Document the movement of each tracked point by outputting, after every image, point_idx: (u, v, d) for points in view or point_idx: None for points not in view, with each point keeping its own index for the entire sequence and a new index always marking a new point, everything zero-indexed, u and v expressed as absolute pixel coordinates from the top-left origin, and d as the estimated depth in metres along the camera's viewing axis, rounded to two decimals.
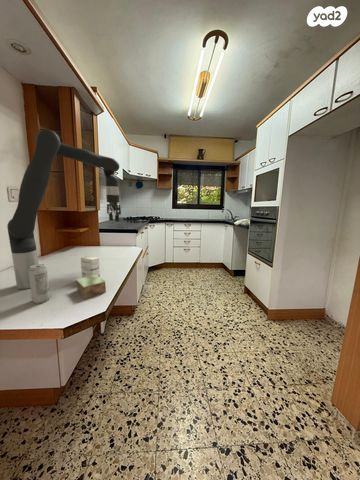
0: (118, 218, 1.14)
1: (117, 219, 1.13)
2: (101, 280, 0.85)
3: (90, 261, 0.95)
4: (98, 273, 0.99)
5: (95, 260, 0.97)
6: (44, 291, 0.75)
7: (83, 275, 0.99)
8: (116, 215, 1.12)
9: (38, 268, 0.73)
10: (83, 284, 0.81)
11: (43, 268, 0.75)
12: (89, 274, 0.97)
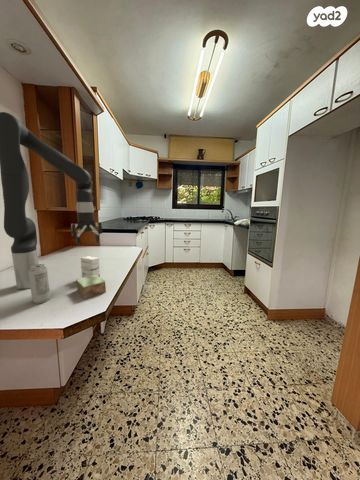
0: None
1: None
2: (101, 280, 0.85)
3: (90, 261, 0.95)
4: (98, 273, 0.99)
5: (95, 260, 0.97)
6: (44, 291, 0.75)
7: (83, 275, 0.99)
8: (98, 235, 0.99)
9: (38, 268, 0.73)
10: (83, 284, 0.81)
11: (43, 268, 0.75)
12: (89, 274, 0.97)
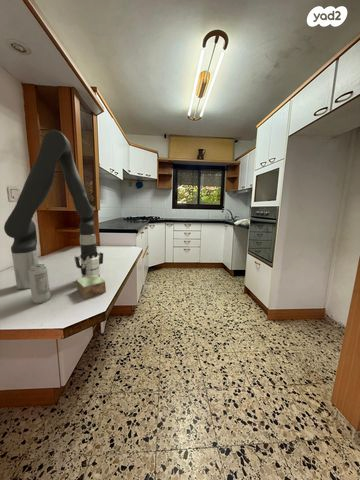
0: None
1: None
2: (101, 280, 0.85)
3: (90, 261, 0.95)
4: (98, 273, 0.99)
5: (95, 260, 0.97)
6: (44, 290, 0.75)
7: (83, 275, 0.99)
8: None
9: (38, 268, 0.74)
10: (83, 284, 0.81)
11: (43, 268, 0.75)
12: (89, 274, 0.97)
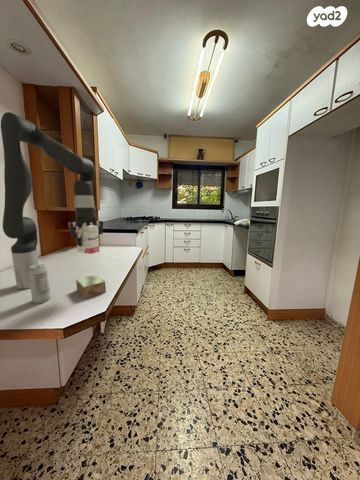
0: None
1: None
2: (101, 280, 0.85)
3: (87, 228, 0.78)
4: (97, 244, 0.82)
5: (93, 228, 0.80)
6: (44, 290, 0.75)
7: (79, 247, 0.82)
8: None
9: (38, 268, 0.73)
10: (83, 284, 0.81)
11: (43, 268, 0.75)
12: (87, 244, 0.80)
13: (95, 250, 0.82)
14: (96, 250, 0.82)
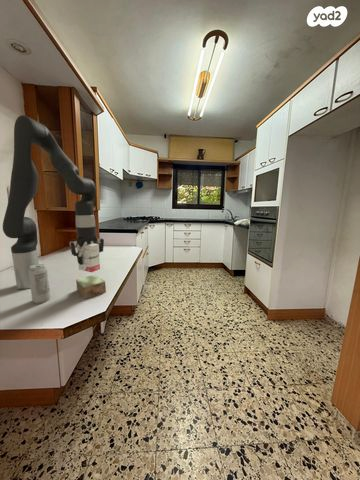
0: None
1: None
2: (101, 280, 0.85)
3: (88, 247, 0.79)
4: (98, 262, 0.83)
5: (94, 246, 0.81)
6: (44, 291, 0.75)
7: (80, 265, 0.83)
8: None
9: (38, 268, 0.73)
10: (83, 284, 0.81)
11: (43, 268, 0.75)
12: (87, 263, 0.81)
13: (96, 268, 0.82)
14: (97, 268, 0.83)
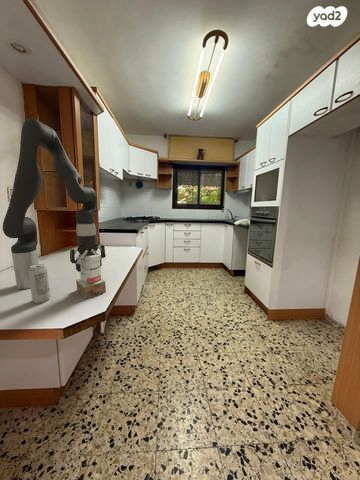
0: None
1: None
2: (101, 280, 0.85)
3: (89, 259, 0.80)
4: (99, 273, 0.84)
5: (95, 258, 0.82)
6: (44, 291, 0.75)
7: (82, 275, 0.84)
8: (101, 259, 0.87)
9: (38, 268, 0.73)
10: (83, 284, 0.81)
11: (43, 268, 0.75)
12: (88, 274, 0.82)
13: (96, 279, 0.83)
14: (97, 279, 0.84)
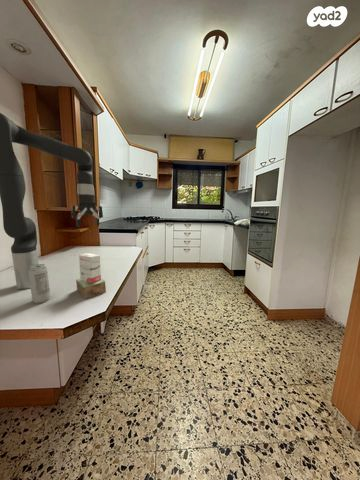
0: (98, 222, 0.99)
1: (98, 223, 0.99)
2: (101, 280, 0.85)
3: (89, 259, 0.80)
4: (99, 273, 0.84)
5: (95, 258, 0.82)
6: (44, 290, 0.75)
7: (82, 275, 0.84)
8: (99, 218, 0.98)
9: (38, 268, 0.74)
10: (83, 284, 0.81)
11: (43, 268, 0.75)
12: (88, 274, 0.82)
13: (96, 279, 0.83)
14: (97, 279, 0.84)
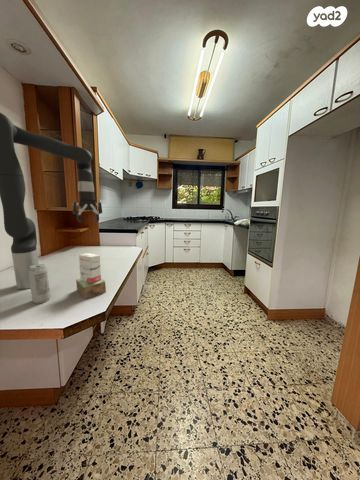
0: None
1: None
2: (101, 280, 0.85)
3: (89, 259, 0.80)
4: (99, 273, 0.84)
5: (95, 258, 0.82)
6: (44, 291, 0.75)
7: (82, 275, 0.84)
8: (98, 214, 1.04)
9: (38, 268, 0.73)
10: (83, 284, 0.81)
11: (43, 268, 0.75)
12: (88, 274, 0.82)
13: (96, 279, 0.83)
14: (97, 279, 0.84)
